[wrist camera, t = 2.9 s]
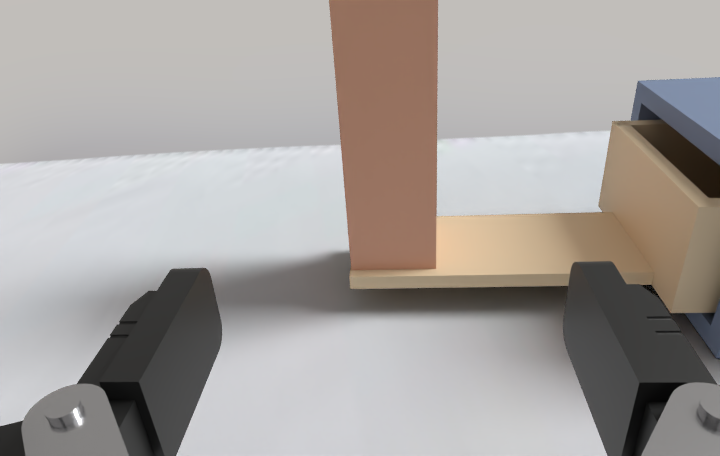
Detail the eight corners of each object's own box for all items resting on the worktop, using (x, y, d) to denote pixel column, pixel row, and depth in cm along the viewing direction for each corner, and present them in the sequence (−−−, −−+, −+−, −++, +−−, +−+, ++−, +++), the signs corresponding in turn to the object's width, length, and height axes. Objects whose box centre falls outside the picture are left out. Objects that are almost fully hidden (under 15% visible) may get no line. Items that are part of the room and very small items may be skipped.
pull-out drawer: (346, 316, 22) (317, -7, 16) (360, 212, 29) (342, -34, 23) (986, 309, 20) (1212, -59, 14) (825, 200, 27) (930, -71, 22)
